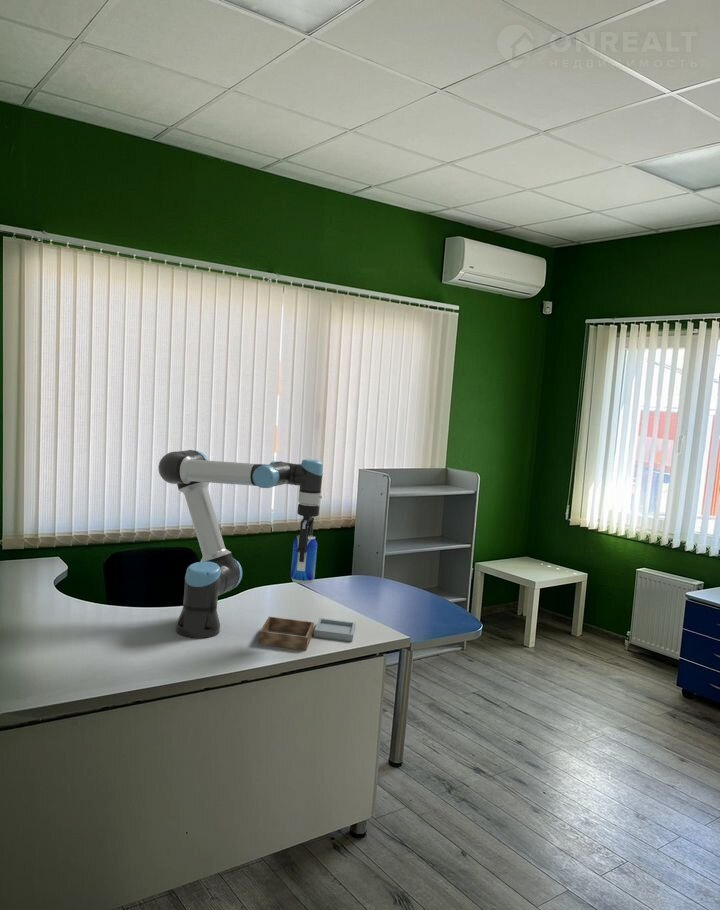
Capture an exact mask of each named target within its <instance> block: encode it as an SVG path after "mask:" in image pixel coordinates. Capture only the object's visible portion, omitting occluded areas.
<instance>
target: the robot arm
mask: <svg viewBox="0 0 720 910" xmlns="http://www.w3.org/2000/svg"><path fill="white" fill-rule="evenodd" d="M323 467H324V465H323V462H322V461H320V460H318V459H309V458H306V459H302V461H301V463H292V462H291V463H290V462H286V461H285V462H284V461H275V460H273V461H271V462H270V463H269V464H265V463H250V462H249V463H248V462H235V461H234V462H232V461H218V460H217V461H216V460H209V458H208V456H207V455H206V454H205V453H203V452H202V451H198V450H194V449H193V450H192V449H187V450H180V451H171V452H168V453H166V454H164V455H163V457H161V459H160V460H159V462H158V468H157V469H158V474H159V475H160V477H161V479H162V480H163V481H164V482H167V483H168V484H171V485H176V486H177V489H178V491H179V492H180V493H182V494H184V497H185V501H186V503H187V504H186V505H187V507H188V511H189V515H190V517H191V522H192V524H193V528H194V531H195V535H196V537H197V540H198V544H199V545H198V546H199V547H200V551H201V554H202V558H201V560H200V561H198V562H197V561H196V562H194V563H192V564H190V565H188V567H187V569H186V572H185V575H184V588H183V589H184V593H183V603H182V605H183V606H182V609H181V611H180V614H179V617H178V618H177V621H176V623H175V632H176V633H178V635H181V636H184V637H188V638H193V639H194V638H196V639H198V638H200V639H201V638H202V639H204V638H211V637H214V636H216V635H219V633H220V632H221V623H220V617H219V614H218V601H219V600H218V598H219V596H221V595H223V594H225V593H228V592H231V591H232V590H234V589H235V588H237V587H238V586H239V584H240V583H241V580H242V579H243V568H242V565H241V564H240V562H239V561H238V560H236V559H235V558H234V557H233V554H232V551H230V550H229V549H227V548H226V546H225V543H224V539H223V536H222V532H221V530H220V526H219V522H218V519H217V516H216V513H215V508H214V506H213V502H212V499H211V495H210V493H209V490H208V485H209V484H210V483H211V484H212V483H213V484H227V485H236V486H237V485H241V486H252V487H253V486H254V487H259V488H261V489H270V488H274V487H278V486H281V485H291V486H299V487H298V489H299V490H298V496H297V497H298V499H297V502H298V505H297V511H296V512H297V515H299V516H302V520H301V521H300V525H299V526H300V527H299V528H300V530H299V535H300V536H299V545H298V550H297V551H296V552H299V554H298V565H297V570H298V571H305V566H306V555H307V552H306V549H307V542H308V536H310V535H311V536H314V535H313V532H314V521H315V517H316V518H317V517H318V516H319V515H320V506H319V505H320V503H321V499H322V497H323V496H322V495H321V494H322V493H321V491H322V480H323V474H324V473H323Z"/></svg>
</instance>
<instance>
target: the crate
mask: <svg viewBox="0 0 720 910" xmlns="http://www.w3.org/2000/svg"><path fill="white" fill-rule="evenodd" d="M314 626H315V622H313V621H307V620H300V619H299V620H298V619H292V618H284V617H283V618H282V617H276V616H275V617H274V616H268V617H267V619H266V621H265V622H264V623H263V625H262V626H261V629H260V630H259V634H258V645H263V646H271V647H279V648H284V649H285V648H286V649H294V650H300V651H301V650H302V651H307V650H308V647H309V644H310V642H311V640H312V636H314ZM272 631H273V632H272ZM274 631H275V632H274ZM276 631H277V632H276ZM278 631H280V632H278ZM281 632H287V633H281ZM289 633H290V634H289ZM291 633H292V634H291ZM293 633H294V634H293ZM296 634H302V635H296ZM303 635H304V636H303Z"/></svg>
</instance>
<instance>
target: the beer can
mask: <svg viewBox="0 0 720 910" xmlns="http://www.w3.org/2000/svg"><path fill="white" fill-rule="evenodd" d="M299 536H300V534H297V535H296V538H295V539H294V540H293V543H292V555H291V568H290V579H291V580H292V582H293V583H296V584H302V585H307V584H311V583H313V581H314V580H315V575H316V567H317V565H316V563H317V553H318V542H317V540H316V536H314V535H313V536H311V535H310V536H308V542H307V549H306V552H307V555H306V566H305V571H298V570H297V565H298V554H299V552H296V551H297V550H298V545H299Z"/></svg>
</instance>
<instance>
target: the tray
mask: <svg viewBox="0 0 720 910" xmlns="http://www.w3.org/2000/svg"><path fill="white" fill-rule="evenodd" d="M356 625H357V622H353V621H348V620H346V621H345V620H339V619H338V620H337V619H329V618H322V617H319V618H318V620H317V623H316V625H315V628H314V629H313V637H314V638H322V639H330V640H336V641H345V642H351V643H352V642H353V639H354V636H355V632H356Z"/></svg>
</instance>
